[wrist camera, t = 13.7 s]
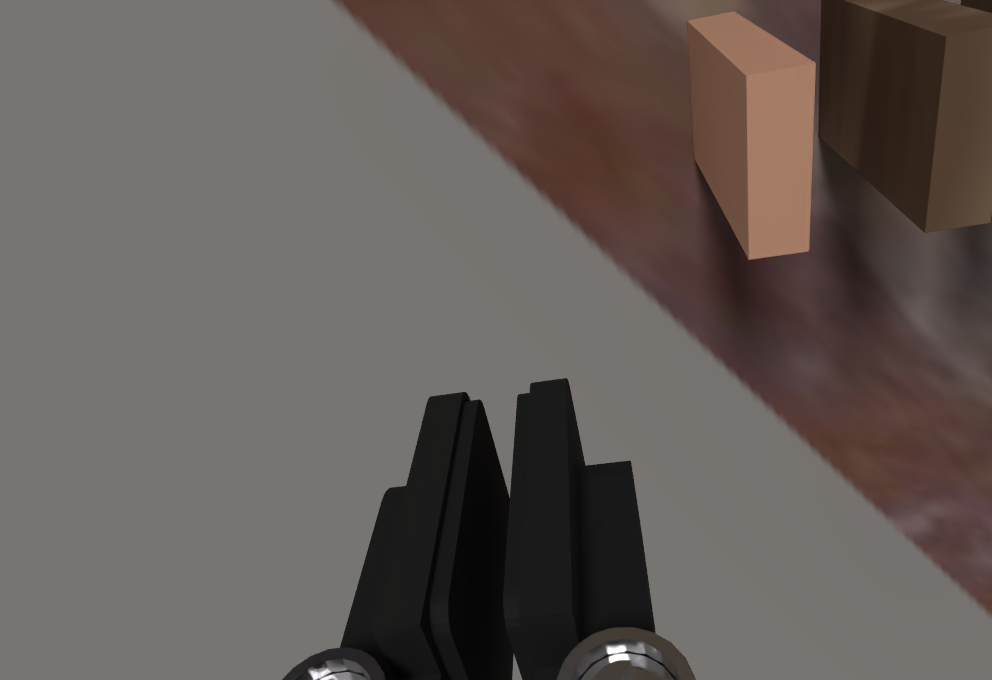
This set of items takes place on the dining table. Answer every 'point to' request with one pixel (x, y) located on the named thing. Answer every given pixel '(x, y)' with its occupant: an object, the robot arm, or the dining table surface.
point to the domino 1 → (753, 131)
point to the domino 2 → (912, 104)
